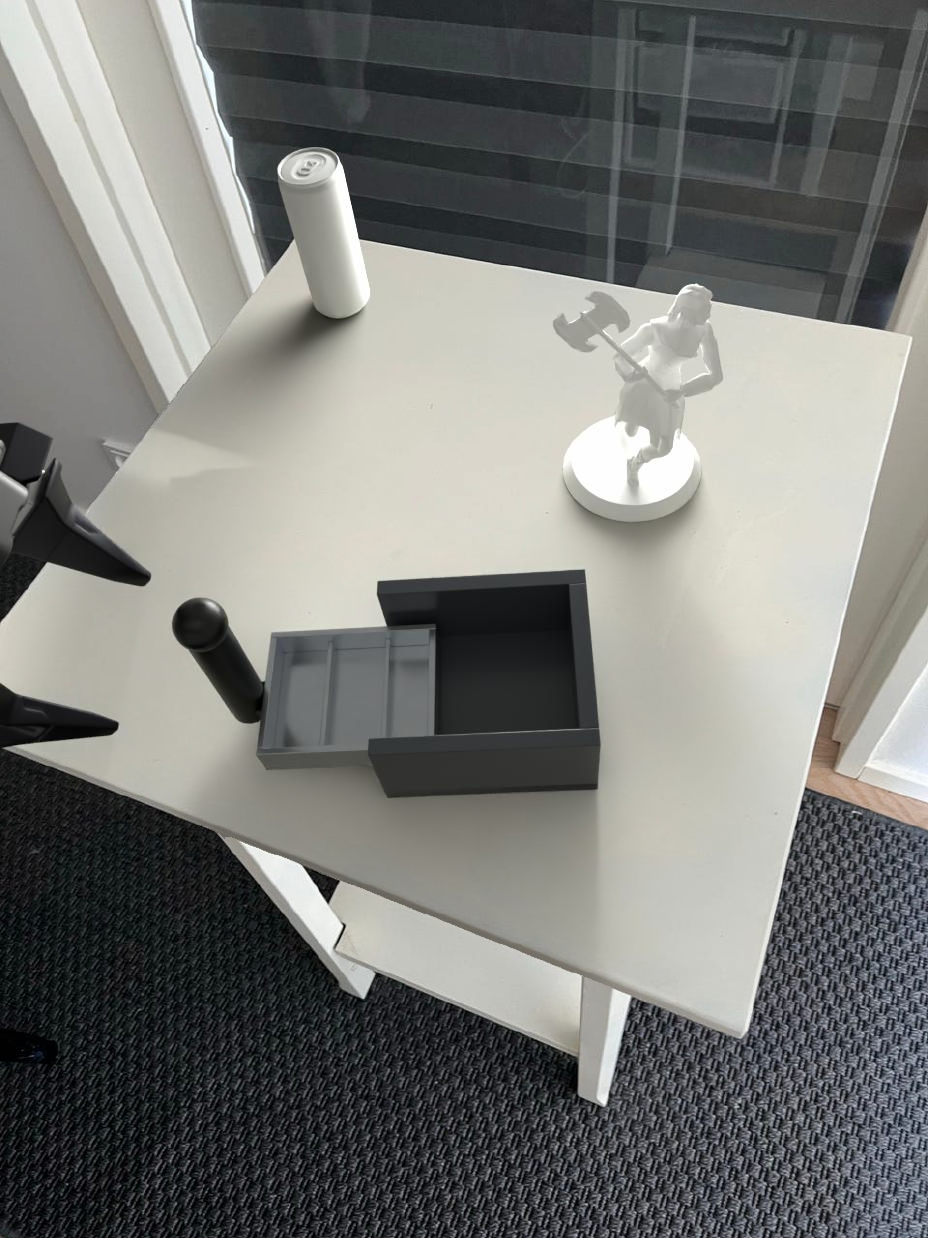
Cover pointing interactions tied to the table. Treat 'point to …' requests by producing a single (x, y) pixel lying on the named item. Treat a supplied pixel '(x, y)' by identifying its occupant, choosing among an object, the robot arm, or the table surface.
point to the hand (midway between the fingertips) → (132, 651)
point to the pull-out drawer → (320, 685)
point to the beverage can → (324, 230)
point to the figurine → (642, 410)
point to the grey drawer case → (499, 686)
